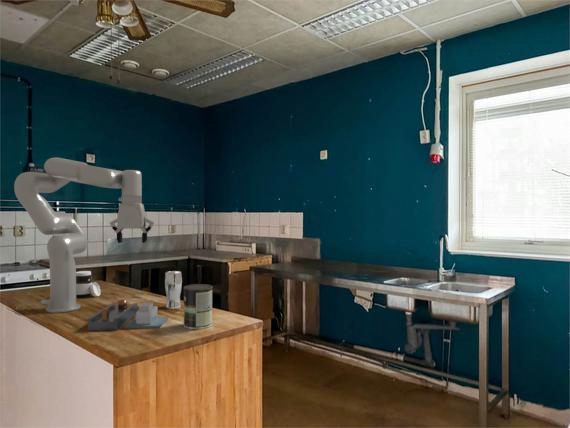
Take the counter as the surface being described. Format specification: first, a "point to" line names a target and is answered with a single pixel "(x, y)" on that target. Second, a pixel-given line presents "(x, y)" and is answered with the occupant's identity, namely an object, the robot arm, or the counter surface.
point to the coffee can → (198, 306)
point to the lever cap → (146, 314)
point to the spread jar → (86, 285)
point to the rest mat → (155, 324)
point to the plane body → (112, 316)
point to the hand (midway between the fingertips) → (132, 242)
